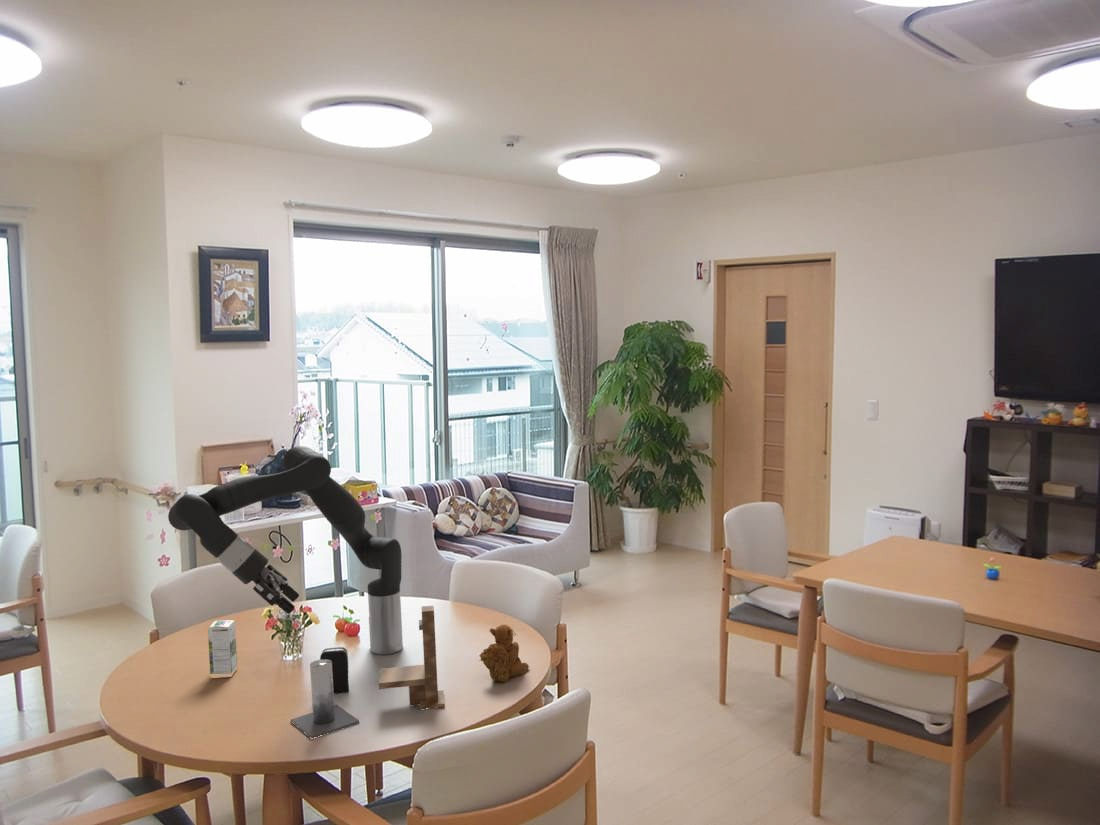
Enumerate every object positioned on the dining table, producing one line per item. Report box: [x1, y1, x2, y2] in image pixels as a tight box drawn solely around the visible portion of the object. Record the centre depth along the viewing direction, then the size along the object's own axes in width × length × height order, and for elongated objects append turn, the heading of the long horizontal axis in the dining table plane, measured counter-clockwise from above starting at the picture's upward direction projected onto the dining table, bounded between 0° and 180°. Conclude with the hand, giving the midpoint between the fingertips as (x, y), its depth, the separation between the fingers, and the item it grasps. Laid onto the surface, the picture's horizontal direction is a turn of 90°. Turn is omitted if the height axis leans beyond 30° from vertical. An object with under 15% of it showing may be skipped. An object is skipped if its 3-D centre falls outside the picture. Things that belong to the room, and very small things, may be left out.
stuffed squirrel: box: [478, 624, 530, 683], centre depth 226 cm, size 10×14×13 cm
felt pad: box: [290, 704, 360, 738], centre depth 202 cm, size 12×12×1 cm
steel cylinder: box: [309, 659, 335, 725], centre depth 202 cm, size 5×5×14 cm
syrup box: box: [207, 619, 238, 674], centre depth 233 cm, size 6×6×14 cm
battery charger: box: [319, 646, 350, 694], centre depth 219 cm, size 7×4×11 cm, turn 99°
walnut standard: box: [378, 605, 446, 711], centre depth 210 cm, size 16×9×24 cm, turn 99°
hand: (294, 604), depth 201 cm, fingers open, 8 cm apart
